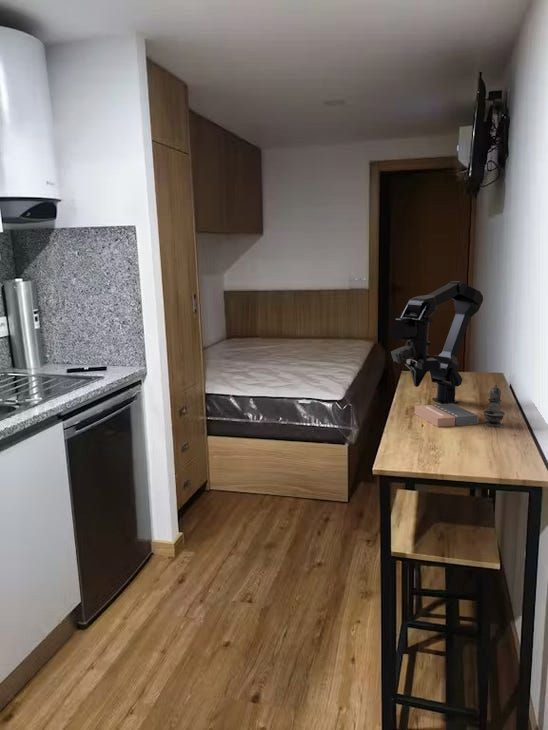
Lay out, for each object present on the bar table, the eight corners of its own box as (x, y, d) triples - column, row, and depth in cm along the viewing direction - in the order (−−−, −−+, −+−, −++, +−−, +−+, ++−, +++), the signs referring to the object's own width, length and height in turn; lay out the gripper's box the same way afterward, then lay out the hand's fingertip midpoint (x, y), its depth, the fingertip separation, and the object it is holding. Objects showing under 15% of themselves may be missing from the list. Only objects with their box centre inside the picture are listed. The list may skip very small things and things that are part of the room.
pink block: (414, 413, 175) (414, 405, 174) (430, 412, 176) (431, 404, 176) (437, 426, 162) (437, 418, 161) (454, 425, 163) (455, 416, 162)
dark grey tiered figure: (502, 422, 166) (505, 382, 163) (505, 428, 160) (508, 387, 158) (481, 420, 167) (484, 381, 165) (483, 426, 162) (486, 386, 159)
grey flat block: (431, 412, 176) (432, 404, 176) (452, 410, 178) (452, 403, 177) (456, 425, 163) (456, 416, 162) (477, 423, 164) (478, 415, 164)
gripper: (382, 335, 183) (380, 381, 186) (408, 343, 165) (406, 395, 168) (413, 333, 185) (411, 379, 188) (442, 342, 168) (440, 392, 171)
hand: (416, 386), depth 179 cm, fingers closed
